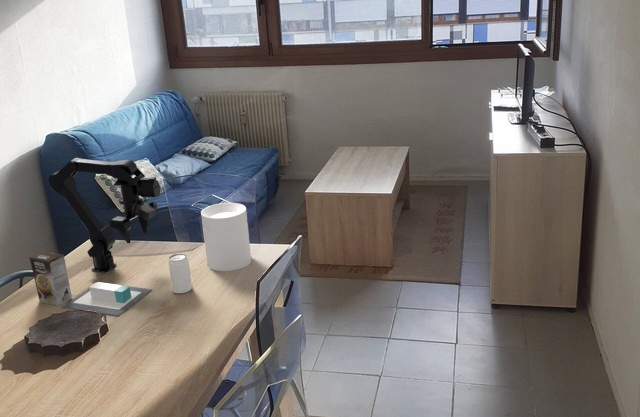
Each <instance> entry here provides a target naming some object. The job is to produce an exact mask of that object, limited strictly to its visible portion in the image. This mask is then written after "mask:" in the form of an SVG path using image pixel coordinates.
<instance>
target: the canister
mask: <svg viewBox="0 0 640 417" xmlns="http://www.w3.org/2000/svg"><path fill="white" fill-rule="evenodd" d="M247 214H248V213H247V207H246V206H245V205H244V204H241V203H237V202H223V203H222V202H221V203H216V204H212V205H209V206H207V207H204V208H203V209H202V210H201V211H200V216H201V226H202V233H203V239H204V248H205V255H206V256H205V257H206V264H207V267H208V268H209V269H210V270H213V271H216V272H231V271H232V272H233V271H238V270H240V269H243V268H245V267H247V266H249V264H250V263H251V262H252V253H251V244H250V235H249V224H248V215H247Z"/></svg>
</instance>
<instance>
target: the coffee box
mask: <svg viewBox="0 0 640 417" xmlns="http://www.w3.org/2000/svg"><path fill="white" fill-rule="evenodd" d="M29 261H30V265H31V271H32V274H33V278H34V284H35V288H36V291H37V292H36V293H37V297H38V301H39V302H42V303H44V304H45V303H46V304H49V305H52V306H56V307H59V306H61V305H63V304H65V303H67V302H69V301H71V300H72V299H73V294H72V292H71V286H70V281H69V275H68V271H67V264H66V259H65V254H62V253H59V252H54V251H49V250H43V251H41V252H38V253H35V254H33V255H31V256H29Z"/></svg>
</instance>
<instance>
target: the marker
mask: <svg viewBox="0 0 640 417" xmlns="http://www.w3.org/2000/svg"><path fill="white" fill-rule="evenodd" d="M88 289H90V294H91V298H94V299H100V300H107V301H113V302H120V303H125V302H126V301H128V300H129V299H130V298H132V297H131V291H130V285H124V284H123V285H121V284H116V283H107V282H99V281H96V282H95V283H94V284H92V285H90V286H89V288H88Z"/></svg>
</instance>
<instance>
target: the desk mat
mask: <svg viewBox="0 0 640 417" xmlns="http://www.w3.org/2000/svg"><path fill="white" fill-rule="evenodd" d="M129 286H130V285H129ZM130 291H131V297H132V298H130V299H129V300H128V301H126V302H125V303H120V302H113V301H107V300H100V299H94V298H91V294H90V289H89V288H87V289H86V290H84V291H83V292H81V293H79V294H78V295H77V296H76V297H74V298H72V299H70V300H68V301H67V302H65V303H64V305H63V304H62V306H61V308H62V309H68V310H73V311H74V310H75V311H80V310H95V311H96V312H97V313H96V314H99V313H100V315H107V316H114V317H120V316H121V315H123V314H124V313H125V312H126V311H128V310H129V309H130V308H132V307H133V306H134V305H135V304H136V303H137V304H138V302H140V300H142V299H143V298H144V297H146V296H147V295H148V294H149V293H150V292H152V291H153V289H152V288H145V287H137V286H130Z"/></svg>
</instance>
